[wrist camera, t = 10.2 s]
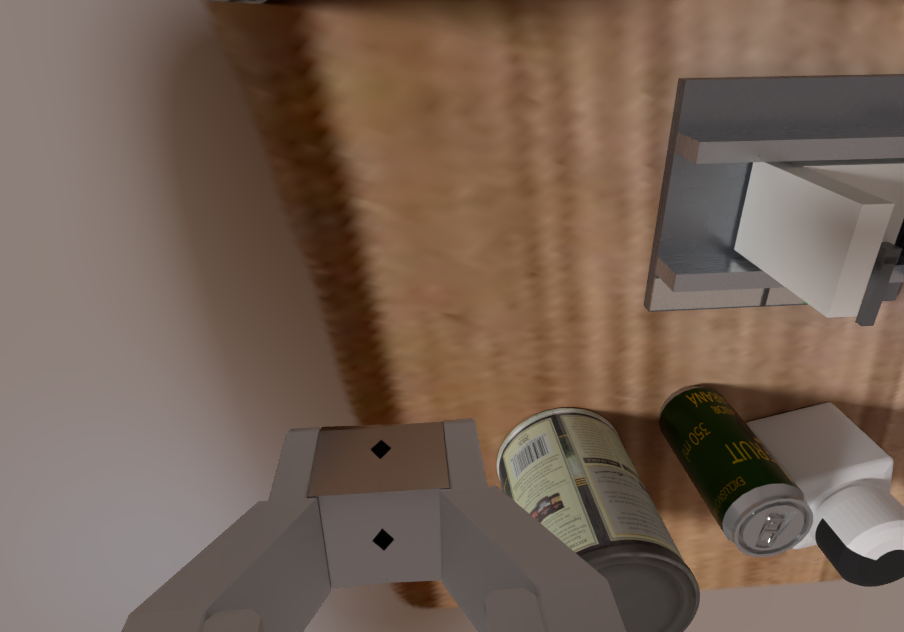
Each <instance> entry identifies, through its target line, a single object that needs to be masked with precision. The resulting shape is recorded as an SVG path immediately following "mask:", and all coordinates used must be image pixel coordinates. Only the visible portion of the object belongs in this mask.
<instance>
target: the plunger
mask: <svg viewBox="0 0 904 632" xmlns="http://www.w3.org/2000/svg"><path fill="white" fill-rule="evenodd" d="M903 219H904V158H883V159H849V160H814V161H780V162H753V166H752V171H751V175H750V180H749V184H748V189H747V193H746V198H745V202H744V207H743V211H742V216H741V220H740V225H739V230H738V234H737V239H736V243H735V248H734V250H735V251H737V252H738V253H739V254H741V255H742V256H743V257H745V258H746V259H748V260H749V261H750V262H752V263H753V264H754V265H756V266H757V267H759V268H760V269H761V270H763V271H764V272H765V273H767V274H768V275H769V276H771V277H772V278H774V279H775V280H776V281H778V282H779V283H780V284H782V285H783V286H784V287H786V288H787V289H789V290H790V291H791V292H793V293H794V294H795V295H797V296H798V297H800V298H801V299H802V300H804V301H805V302H806V303H808V304H809V305H810V306H812V307H813V308H815V309H816V310H817V311H819V312H820V313H821V314H823V315H824V316H826V317H827V318H830V317H851V316H857V318H856V321H855V322H856V323H858V324H859V325H861V326H873V325H874V322H875V319H876V317H877V314H878V311H879V308H880V305H881V303H882V300H883V297H884V294H885V291H886V289H887V286H888V283H889V280H890V277H891V275H892V272H893V269H894V266H895V264H897V262H898V259H899V256H900V254H901V251H902V248H900V247H898V246H896V245H895V242H896V239H897V236H898V233H899V230H900V227H901V225H902V222H903ZM874 263H875V265H874ZM873 266H874V268H873ZM872 269H873V271H872ZM871 272H872V274H871ZM870 275H871V277H870ZM869 278H870V280H869ZM868 281H869V283H868ZM867 284H868V286H867ZM866 287H867V289H866ZM865 290H866V292H865ZM864 293H865V295H864ZM863 296H864V298H863ZM862 299H863V301H862ZM861 302H862V304H861ZM860 305H861V307H860ZM859 307H860V310H859ZM858 310H859V312H858ZM857 313H858V315H857Z"/></svg>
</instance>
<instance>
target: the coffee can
mask: <svg viewBox="0 0 904 632" xmlns="http://www.w3.org/2000/svg"><path fill="white" fill-rule="evenodd" d="M497 473H498V477H499V480H500V482H501V487H502V490H503V492H504V493H505V494H506V495H508V496H509V497H510V498H511V499H512V500H513V501H515V502H516V503H517V504H518V505H519V506H521V507H522V508H523V509H524V510H525V511H526V512H528V513H529V514H530V515H531V516H532V517H534V518H535V519H536V520H537V521H538V522H540V523H541V524H542V525H543V526H544V527H545V528H547V529H548V530H549V531H550V532H551V533H553V534H554V535H555V536H556V537H557V538H558V539H560V540H561V541H562V542H563V543H564V544H566V545H567V546H568V547H569V548H570V549H571V550H573V551H574V552H575V553H576V554H577V555H579V556H580V557H581V558H582V559H583V560H584V561H586V562H587V563H588V564H589V565H590V566H592V567H593V568H594V569H595V570H596V571H597V572H599V573H600V574H601V575H602V576H603V577H605V578H606V579H607V580H608V583H609V586H610V588H611V591H612V594H613V596H614V599H615V602H616V605H617V607H618V610H619V613H620V616H621V618H622V621H623V624H624V627H625V629H626V632H683V631H684V630H685V629H686V628H687V627H688V626H689V624H690V623H691V621H692V620H693V618H694V616H695V614H696V612H697V609H698V606H699V601H700V591H699V586H698V583H697V581H696V579H695V577H694V575H693V573H692V572H691V570H690V569H689V567H688V566H687V565H686V564H685V563H684V561H683V559H682V557H681V555H680V553H679V551H678V549H677V547H676V545H675V544H674V542H673V540H672V538H671V536H670V534H669V532H668V530H667V528H666V526H665V525H664V523H663V521H662V519H661V517H660V515H659V513H658V511H657V509H656V508H655V506H654V504H653V502H652V500H651V498H650V496H649V494H648V492H647V490H646V488H645V487H644V485H643V483H642V481H641V479H640V477H639V475H638V473H637V471H636V470H635V468H634V466H633V464H632V462H631V460H630V458H629V456H628V454H627V452H626V450H625V449H624V447H623V445H622V443H621V440H620V437H619V434H618V433H617V431H616V430H615V428H614V427H613V425H612V424H611V423H610V422H609V421H607V420H606V419H605V418H604V417H602V416H600V415H598V414H596V413H594V412H591V411H588V410H585V409H578V408H557V409H551V410H547V411H544V412H541V413H538V414H535V415H534V416H532V417H530V418H529V419H527V420H525V421H523V422H522V423H521V424H519V425H518V426H517V427H516V428H515V429H513V430H512V432H511V433H510V434H509V435H508V436H507V437H506V439H505V440H504V442H503V444H502V446H501V447H500V450H499V454H498V457H497Z"/></svg>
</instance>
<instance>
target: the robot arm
mask: <svg viewBox="0 0 904 632" xmlns="http://www.w3.org/2000/svg"><path fill="white" fill-rule="evenodd" d="M434 580H442V583H443V585H444V586H445V587H446V589H447V590H448V591H449V593H450V594H451V596H452V597H453V598H454V600H455V601H456V602H457V604H458V605H459V606H460V608H461V609H462V610H463V612H464V613H465V614H466V616H467V617H468V619H469V620H470V621H471V623H472V624H473V625H474V627H475V628H476V629H477V631H478V632H626V629H625V627H624V624H623V621H622V618H621V616H620V613H619V610H618V607H617V605H616V602H615V599H614V596H613V594H612V591H611V588H610V586H609V583H608V580H607V579H606V578H605V577H603V576H602V575H601V574H600V573H599V572H597V571H596V570H595V569H594V568H593V567H592V566H590V565H589V564H588V563H587V562H586V561H584V560H583V559H582V558H581V557H580V556H579V555H577V554H576V553H575V552H574V551H573V550H571V549H570V548H569V547H568V546H567V545H566V544H564V543H563V542H562V541H561V540H560V539H558V538H557V537H556V536H555V535H554V534H553V533H551V532H550V531H549V530H548V529H547V528H545V527H544V526H543V525H542V524H541V523H540V522H538V521H537V520H536V519H535V518H534V517H532V516H531V515H530V514H529V513H528V512H526V511H525V510H524V509H523V508H522V507H521V506H519V505H518V504H517V503H516V502H515V501H513V500H512V499H511V498H510V497H509V496H508V495H506V494H505V493H504V492H503V491H502V490H500V489H499V488H498V487H497V486H492V487H487V481H486V476H485V471H484V466H483V460H482V455H481V450H480V445H479V439H478V434H477V429H476V424H475V421H474V420H473V419H472V418H468V419H456V420H444V421H443V422H430V423H413V424H396V425H364V426H335V427H322V428H319V427H315V428H314V427H313V428H292V429H290V430H289V431H288V432H287V433H286V435H285V439H284V442H283V446H282V450H281V454H280V458H279V462H278V465H277V469H276V473H275V477H274V481H273V485H272V489H271V493H270V496H269V500H268V501H259V502H257V503H256V504H255V505H254V506H253V507H252V508H251V509H250V510H248V511H247V512H246V513H245V514H244V515H243V516H241V517H240V518H239V519H238V520H237V521H236V522H235V523H234V524H232V525H231V526H230V527H229V528H228V529H227V530H225V531H224V532H223V533H222V534H221V535H220V536H219V537H217V538H216V539H215V540H214V541H213V542H212V543H211V544H209V545H208V546H207V547H206V548H205V549H204V550H203V551H201V552H200V553H199V554H198V555H197V556H196V557H195V558H194V559H192V560H191V561H190V562H189V563H188V564H187V565H186V566H184V567H183V568H182V569H181V570H180V571H179V572H178V573H176V574H175V575H174V576H173V577H172V578H171V579H169V580H168V581H167V582H166V583H165V584H164V585H162V586H161V587H160V588H159V589H158V590H157V591H156V592H154V593H153V594H152V595H151V596H150V597H149V598H148V599H146V600H145V601H144V602H143V603H142V604H141V605H140V606H139V607H137V608H136V609H135V610H134V611H133V612H132V613H131V614H130V615H129V616H128V618H127V620H126V623H125V625H124V627H123V629H122V632H303V631H304V630H305V628H306V627H307V625H308V624H309V623H310V621H311V619H312V618H313V617H314V615H315V614H316V612H317V611H318V610H319V608H320V607H321V605H322V604H323V602H324V601H325V600H326V598H327V597H328V595H329V594H330V592H331V589H330V588H339V587H349V586H358V585H369V584H378V583H391V582H413V581H434Z"/></svg>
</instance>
